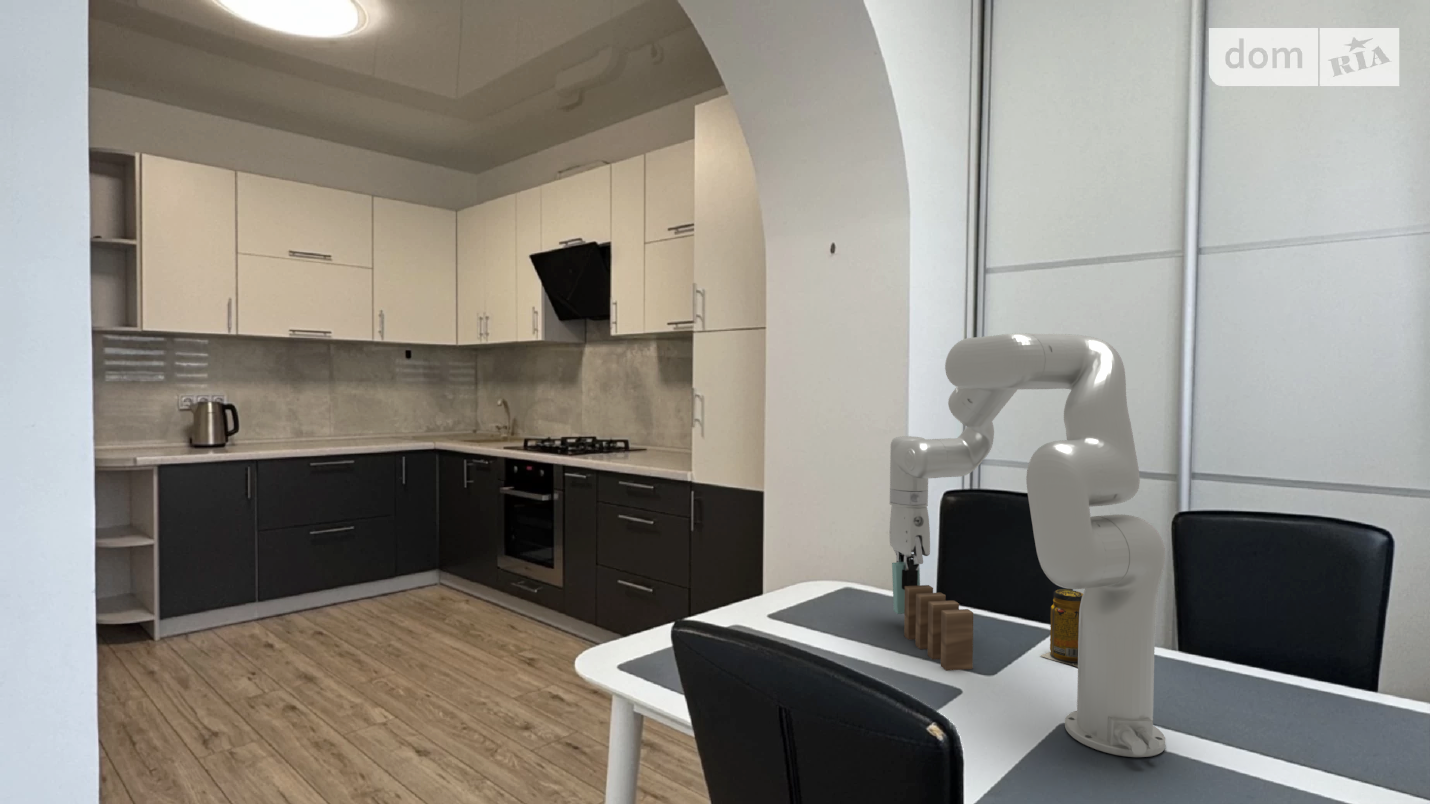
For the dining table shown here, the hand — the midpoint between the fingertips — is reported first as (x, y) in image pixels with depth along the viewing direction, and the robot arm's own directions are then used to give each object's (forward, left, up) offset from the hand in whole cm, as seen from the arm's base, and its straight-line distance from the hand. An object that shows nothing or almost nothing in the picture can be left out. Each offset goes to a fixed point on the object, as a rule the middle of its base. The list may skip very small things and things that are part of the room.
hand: (907, 586), depth 152 cm
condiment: (-15, -27, -9) cm, 32 cm away
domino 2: (-5, -1, -9) cm, 10 cm away
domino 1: (0, 0, -5) cm, 5 cm away
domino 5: (-21, -4, -9) cm, 23 cm away
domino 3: (-10, -2, -9) cm, 14 cm away
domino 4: (-15, -3, -9) cm, 18 cm away
